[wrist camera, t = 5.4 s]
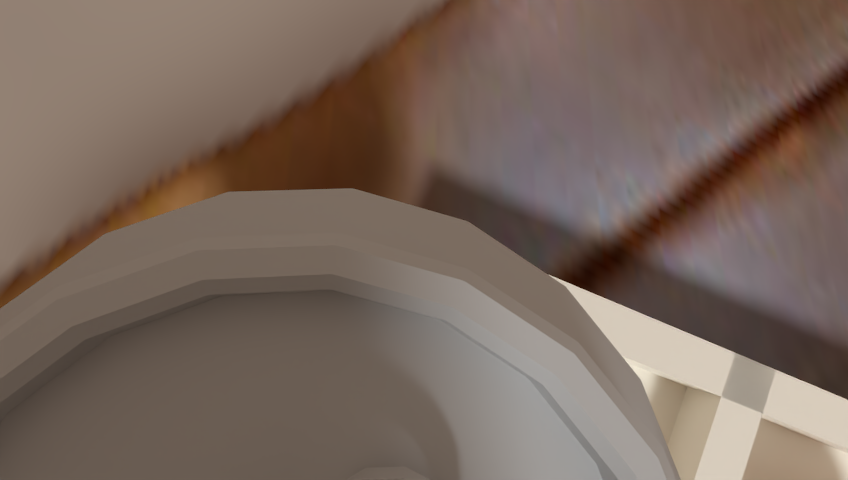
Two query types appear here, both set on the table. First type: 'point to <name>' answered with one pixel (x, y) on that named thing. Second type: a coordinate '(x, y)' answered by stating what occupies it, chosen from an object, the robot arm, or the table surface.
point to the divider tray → (725, 403)
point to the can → (313, 354)
